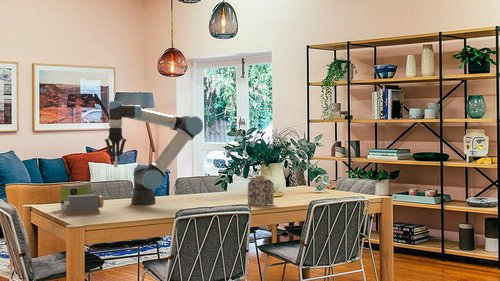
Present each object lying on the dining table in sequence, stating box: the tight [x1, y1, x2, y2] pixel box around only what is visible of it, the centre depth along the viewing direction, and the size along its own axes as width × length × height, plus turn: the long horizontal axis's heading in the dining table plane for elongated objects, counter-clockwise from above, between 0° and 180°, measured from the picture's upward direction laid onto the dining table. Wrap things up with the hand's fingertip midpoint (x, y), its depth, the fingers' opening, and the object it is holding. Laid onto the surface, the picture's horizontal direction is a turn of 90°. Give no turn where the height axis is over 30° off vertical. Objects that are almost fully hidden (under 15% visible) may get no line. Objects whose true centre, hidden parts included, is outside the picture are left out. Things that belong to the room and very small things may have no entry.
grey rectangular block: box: [64, 194, 104, 209], centre depth 377 cm, size 21×7×7 cm, turn 120°
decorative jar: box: [247, 175, 274, 206], centre depth 417 cm, size 12×12×18 cm
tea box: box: [60, 182, 92, 211], centre depth 395 cm, size 15×10×15 cm, turn 141°
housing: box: [63, 193, 101, 217], centre depth 377 cm, size 17×12×10 cm
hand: (115, 166), depth 401 cm, fingers closed
